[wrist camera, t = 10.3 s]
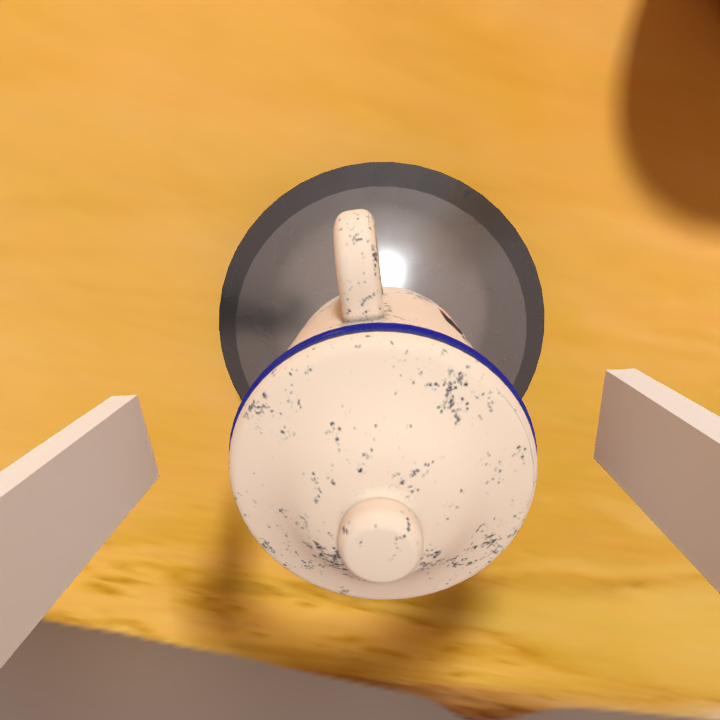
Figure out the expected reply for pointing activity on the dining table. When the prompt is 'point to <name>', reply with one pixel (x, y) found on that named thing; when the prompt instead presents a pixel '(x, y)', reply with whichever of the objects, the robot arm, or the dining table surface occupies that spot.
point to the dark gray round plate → (384, 266)
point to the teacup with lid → (381, 442)
